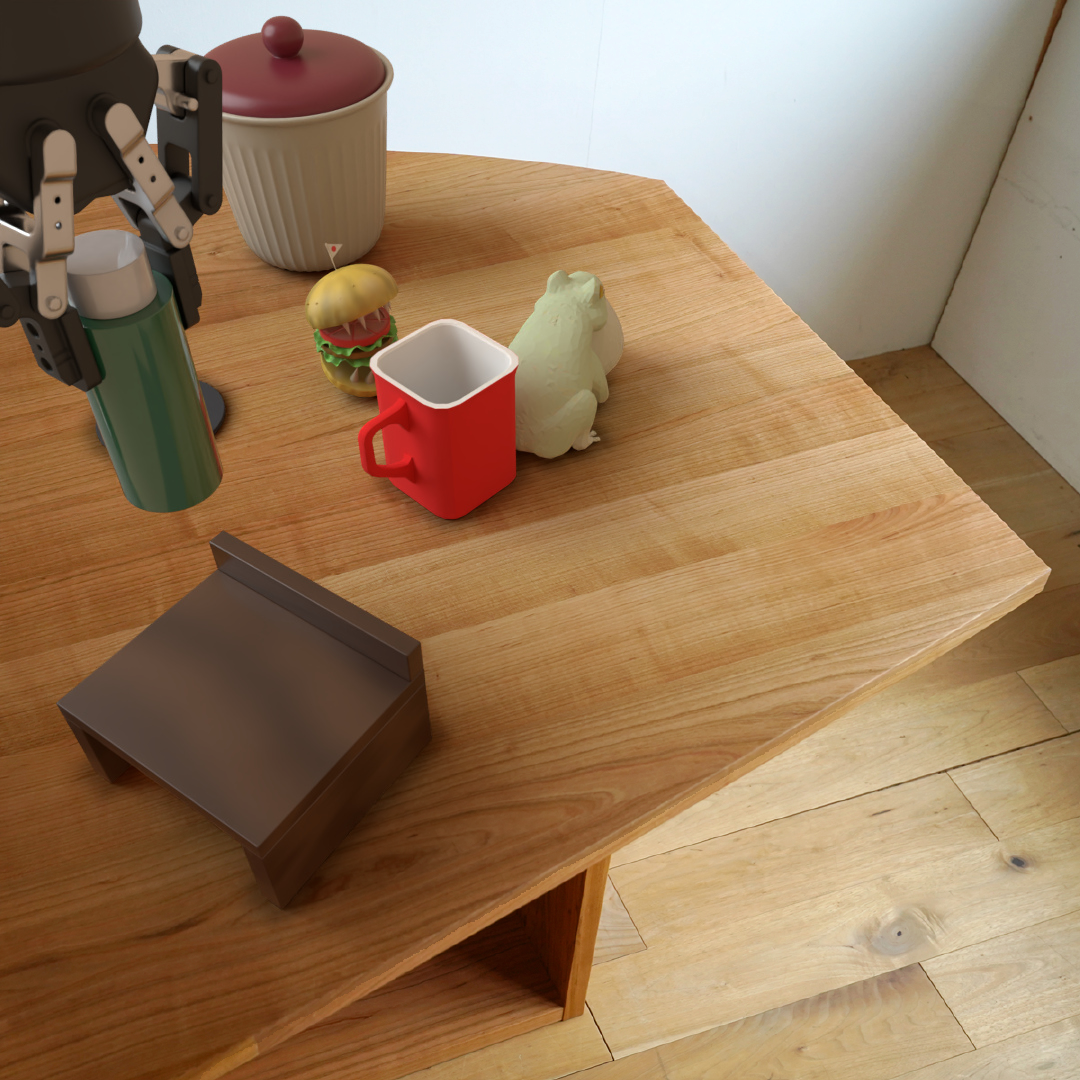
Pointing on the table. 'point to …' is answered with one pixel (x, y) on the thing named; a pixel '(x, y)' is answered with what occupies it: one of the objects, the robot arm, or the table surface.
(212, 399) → the coaster
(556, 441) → the figurine
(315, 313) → the hamburger
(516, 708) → the table surface
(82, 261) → the bottle
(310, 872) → the shelf
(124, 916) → the table surface
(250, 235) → the canister
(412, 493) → the mug
